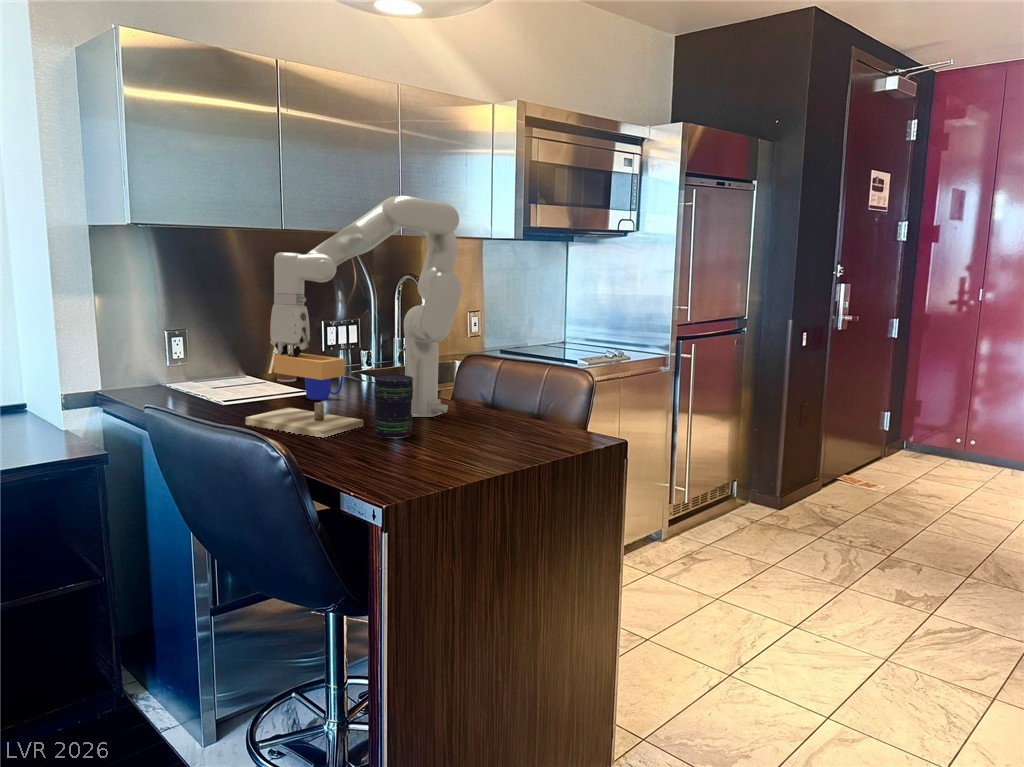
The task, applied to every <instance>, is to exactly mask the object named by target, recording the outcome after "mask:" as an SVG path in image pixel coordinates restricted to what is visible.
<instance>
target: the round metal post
mask: <svg viewBox="0 0 1024 767" xmlns="http://www.w3.org/2000/svg"><path fill="white" fill-rule="evenodd" d="M314 412H315V421H323V420H324V413H325V403H324V402H321V401H320V402H319V401H318V402H314Z"/></svg>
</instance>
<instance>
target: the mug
mask: <svg viewBox="0 0 1024 767" xmlns="http://www.w3.org/2000/svg"><path fill="white" fill-rule="evenodd" d="M339 381H340V383H339V386H338V387H339V388H338V390H337V391H335V392H333V391H332V390H331V388H332V378H330V379H324V380H318V379H312V378H305V377H304V385H305V394H306V398H307V399H308V400H312V401H323V400H327V399H328V398H329V397H330V394H331V395H338V394H340V392H341V390H342V388H343V381H344V376H341V377H340V380H339Z"/></svg>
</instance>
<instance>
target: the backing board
mask: <svg viewBox="0 0 1024 767" xmlns="http://www.w3.org/2000/svg"><path fill="white" fill-rule="evenodd" d="M245 425H246V426H250V425H251V426H250V427H255V426H256V427H257V428H261V429H266V428H267V430H271V429H273V431H277V430H279V432H282V431H285V432H284V433H288V432H291V433H290V434H293V433H295V434H294V435H298V434H302V435H301V436H304V435H309V436H315V437H322V438H324V437H328V436H331V435H334V434H337V433H341V432H344V431H348V430H351V429H354V428H358V427H362V426H363V427H364V419H359V418H353V417H348V416H342V415H336V414H335V415H334V414H329V413H325V412H324V420H323V421H315V411H311V410H307V409H300V408H295V407H285V408H280V409H275V410H272V411H267V412H263V413H259V414H255V415H254V414H253V415H250V416H246V417H245ZM309 436H308V437H309Z"/></svg>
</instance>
